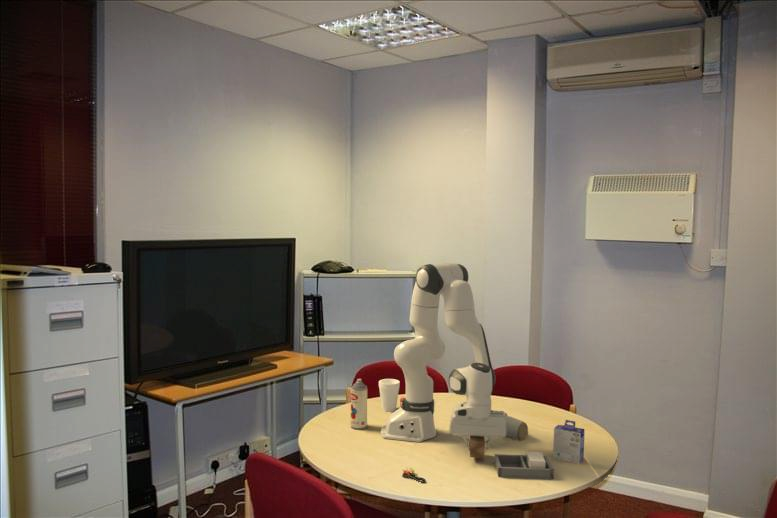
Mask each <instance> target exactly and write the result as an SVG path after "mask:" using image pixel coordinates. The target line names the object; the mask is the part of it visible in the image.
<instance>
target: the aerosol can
mask: <svg viewBox="0 0 777 518" xmlns="http://www.w3.org/2000/svg"><path fill="white" fill-rule="evenodd" d="M367 427H368V386H367V385H365V383H364V382H363V381H362V378H357V379H356V381H355V383H353V385H351V388H350V428H351V429H353V430H361V431H362V430H365V429H367Z"/></svg>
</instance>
